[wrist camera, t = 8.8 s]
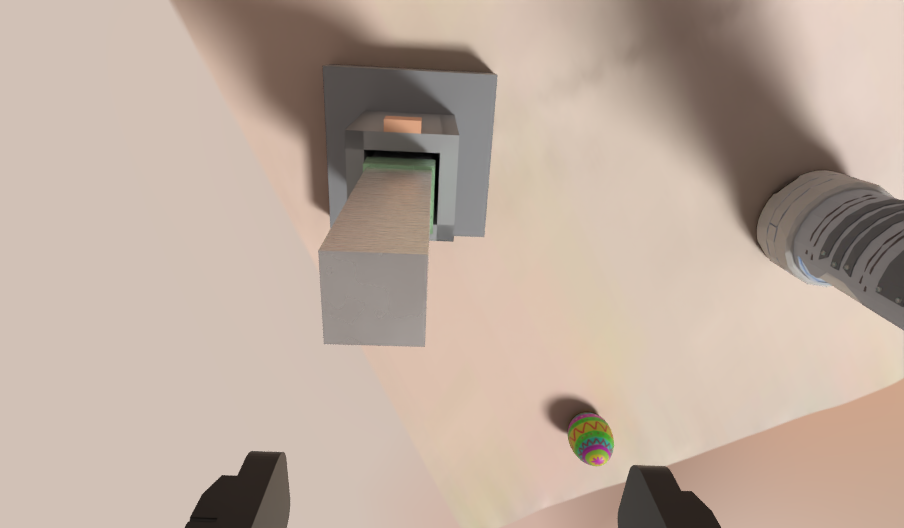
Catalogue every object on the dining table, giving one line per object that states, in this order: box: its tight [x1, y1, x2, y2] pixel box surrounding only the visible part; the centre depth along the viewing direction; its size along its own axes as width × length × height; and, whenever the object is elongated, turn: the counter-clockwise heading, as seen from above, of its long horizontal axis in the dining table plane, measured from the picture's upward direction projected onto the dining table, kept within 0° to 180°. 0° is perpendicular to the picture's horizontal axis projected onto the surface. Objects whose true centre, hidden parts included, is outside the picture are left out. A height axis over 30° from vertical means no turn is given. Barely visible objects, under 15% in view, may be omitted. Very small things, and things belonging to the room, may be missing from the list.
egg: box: [568, 412, 614, 466], centre depth 57 cm, size 5×5×6 cm
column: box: [318, 150, 435, 347], centre depth 28 cm, size 4×4×20 cm
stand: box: [323, 64, 497, 241], centre depth 40 cm, size 14×14×13 cm
